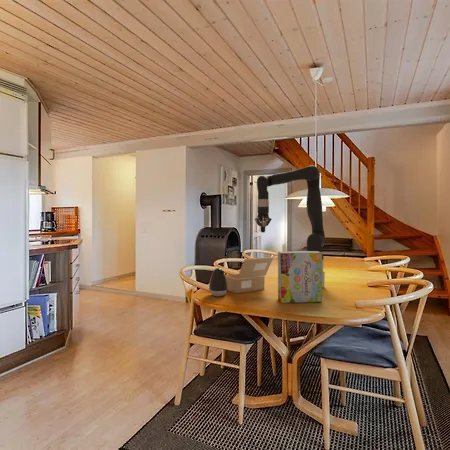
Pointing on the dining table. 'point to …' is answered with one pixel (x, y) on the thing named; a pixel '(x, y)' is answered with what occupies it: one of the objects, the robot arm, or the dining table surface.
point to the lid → (255, 267)
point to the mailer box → (244, 283)
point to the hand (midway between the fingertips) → (263, 232)
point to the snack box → (300, 276)
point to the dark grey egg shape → (218, 283)
